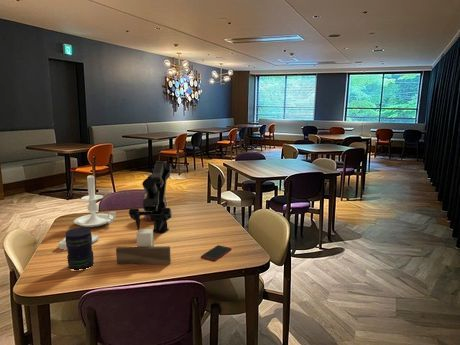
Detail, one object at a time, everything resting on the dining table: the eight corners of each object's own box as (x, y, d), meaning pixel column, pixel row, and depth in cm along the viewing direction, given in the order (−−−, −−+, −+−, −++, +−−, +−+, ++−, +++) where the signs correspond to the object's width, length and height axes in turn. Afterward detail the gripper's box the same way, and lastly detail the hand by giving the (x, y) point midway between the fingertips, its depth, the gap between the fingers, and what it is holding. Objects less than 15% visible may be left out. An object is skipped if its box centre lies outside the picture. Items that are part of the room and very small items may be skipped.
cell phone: (200, 258, 155) (200, 256, 154) (217, 246, 167) (217, 244, 167) (215, 262, 151) (215, 260, 151) (232, 250, 163) (232, 248, 163)
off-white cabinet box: (140, 256, 156) (139, 229, 154) (154, 256, 156) (152, 229, 154) (137, 261, 151) (136, 233, 149) (152, 261, 152) (150, 233, 149)
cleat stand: (124, 253, 159) (123, 239, 158) (173, 253, 160) (172, 238, 158) (117, 264, 148) (115, 249, 147) (170, 263, 149) (169, 248, 147)
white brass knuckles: (77, 253, 161) (52, 249, 166) (103, 239, 178) (79, 235, 182) (77, 246, 160) (51, 242, 165) (102, 232, 177) (78, 229, 182)
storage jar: (68, 273, 141) (64, 237, 138) (68, 263, 150) (65, 229, 147) (94, 268, 145) (91, 233, 142) (93, 259, 154) (90, 226, 151)
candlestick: (104, 233, 184) (100, 180, 179) (65, 228, 192) (60, 177, 186) (127, 221, 203) (124, 173, 198) (91, 217, 211) (87, 170, 206)
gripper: (128, 191, 161) (123, 222, 152) (169, 190, 162) (167, 221, 153) (133, 203, 170) (129, 233, 162) (172, 202, 171) (170, 232, 162)
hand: (148, 230), depth 159 cm, fingers open, 9 cm apart
